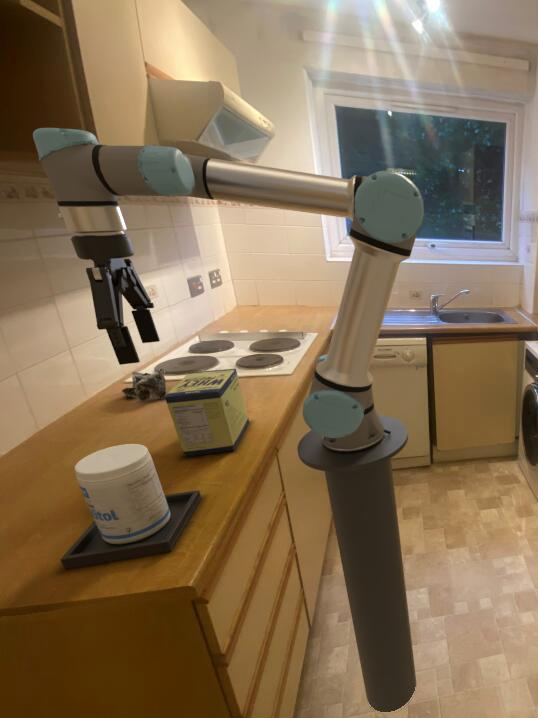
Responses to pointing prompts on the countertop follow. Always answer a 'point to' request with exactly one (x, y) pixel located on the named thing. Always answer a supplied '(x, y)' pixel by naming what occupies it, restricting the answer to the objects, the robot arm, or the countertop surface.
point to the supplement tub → (123, 493)
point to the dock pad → (99, 551)
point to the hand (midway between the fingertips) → (141, 351)
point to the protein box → (208, 412)
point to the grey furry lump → (147, 386)
